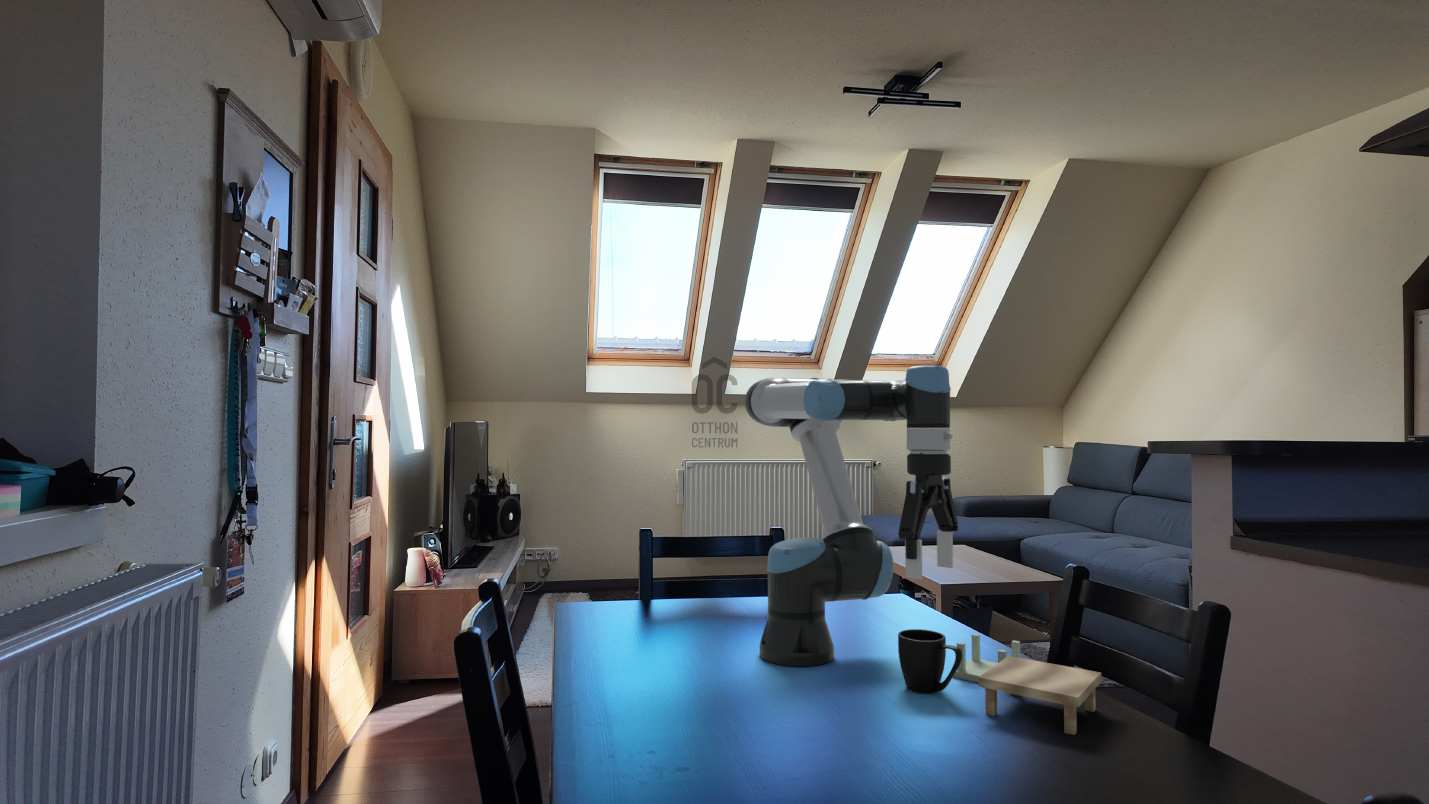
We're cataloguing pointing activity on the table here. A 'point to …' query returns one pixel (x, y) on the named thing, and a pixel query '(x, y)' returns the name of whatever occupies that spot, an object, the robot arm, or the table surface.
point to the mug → (925, 660)
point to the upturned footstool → (977, 666)
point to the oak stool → (1042, 686)
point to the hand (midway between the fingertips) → (930, 572)
